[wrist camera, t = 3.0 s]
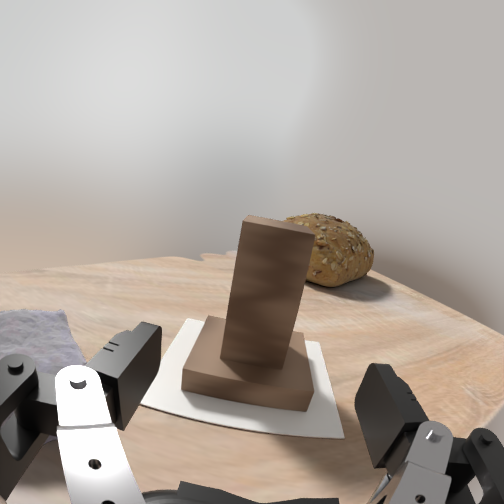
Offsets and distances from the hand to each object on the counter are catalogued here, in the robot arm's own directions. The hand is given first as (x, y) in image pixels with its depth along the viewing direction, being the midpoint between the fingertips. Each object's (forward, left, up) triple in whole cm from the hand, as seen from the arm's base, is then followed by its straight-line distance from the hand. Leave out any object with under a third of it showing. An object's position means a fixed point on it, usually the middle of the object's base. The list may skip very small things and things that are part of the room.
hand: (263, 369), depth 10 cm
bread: (+11, +51, -9) cm, 53 cm away
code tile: (0, +11, -8) cm, 14 cm away
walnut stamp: (0, +11, -8) cm, 14 cm away
